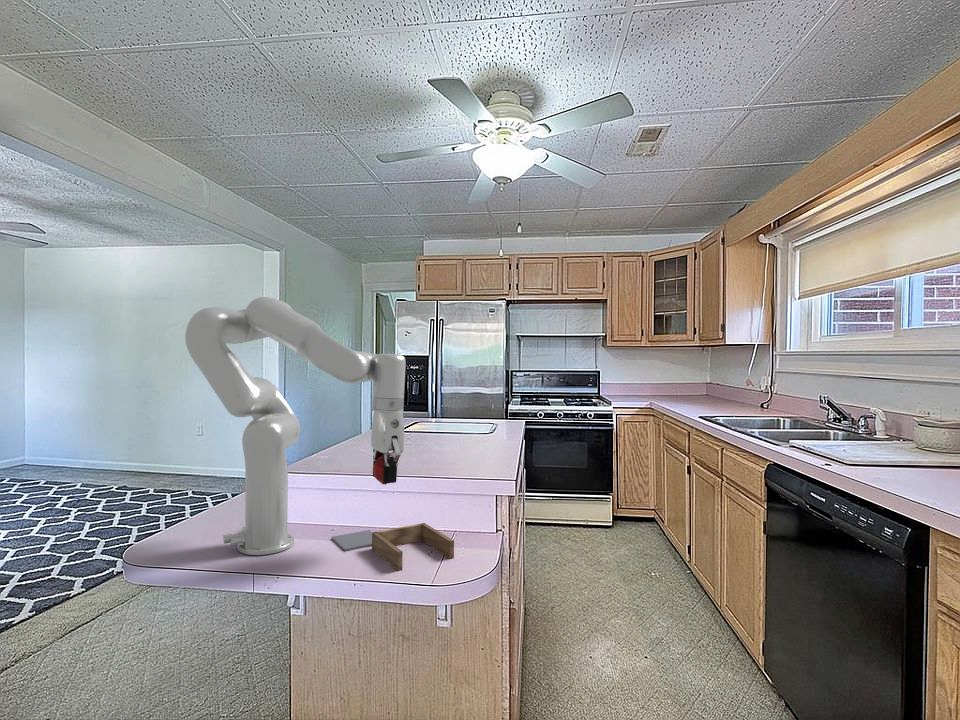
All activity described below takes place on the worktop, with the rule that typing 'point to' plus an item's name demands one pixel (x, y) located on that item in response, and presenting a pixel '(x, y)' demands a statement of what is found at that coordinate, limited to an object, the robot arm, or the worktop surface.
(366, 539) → the mat
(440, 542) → the tan u-shaped frame
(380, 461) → the onion
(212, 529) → the worktop surface
